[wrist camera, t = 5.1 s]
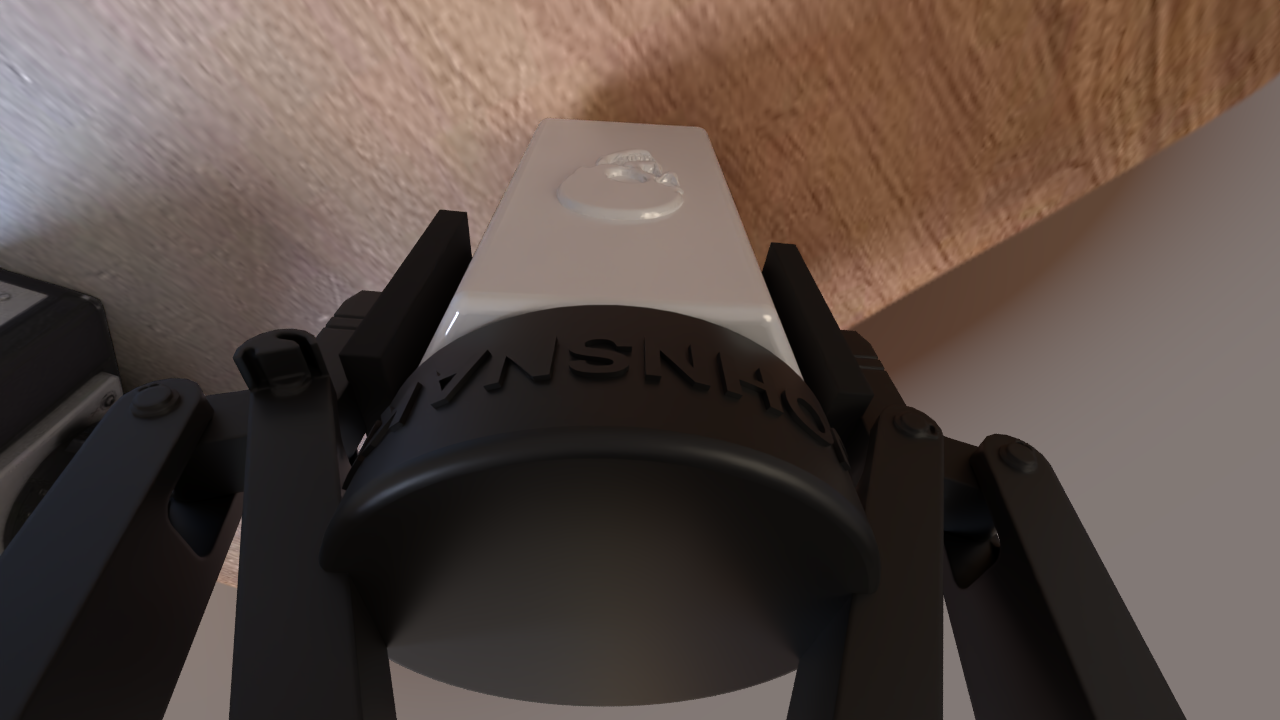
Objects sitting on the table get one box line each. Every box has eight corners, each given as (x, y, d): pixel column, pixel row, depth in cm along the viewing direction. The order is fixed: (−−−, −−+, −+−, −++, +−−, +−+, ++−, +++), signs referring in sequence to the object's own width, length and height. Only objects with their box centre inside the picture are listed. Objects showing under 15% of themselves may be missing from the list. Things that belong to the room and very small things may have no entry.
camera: (220, 523, 28) (53, 745, 20) (12, 462, 25) (-280, 696, 17) (258, 358, 21) (19, 606, 13) (-30, 243, 17) (-578, 476, 10)
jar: (782, 121, 14) (1051, 451, 5) (731, 346, 20) (821, 710, 10) (461, 102, 14) (132, 423, 5) (497, 337, 19) (373, 709, 10)
